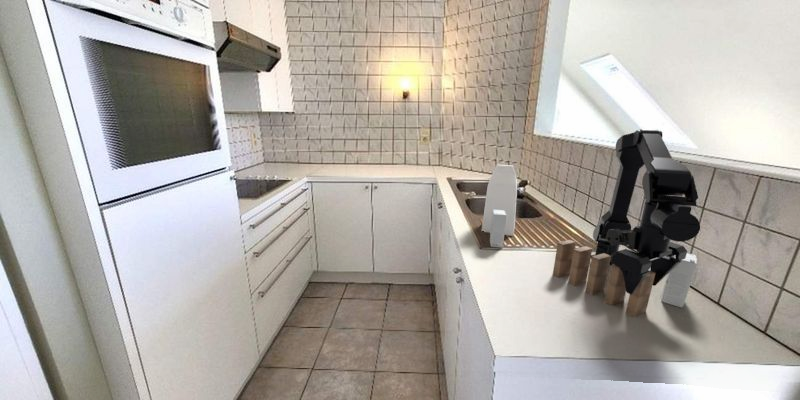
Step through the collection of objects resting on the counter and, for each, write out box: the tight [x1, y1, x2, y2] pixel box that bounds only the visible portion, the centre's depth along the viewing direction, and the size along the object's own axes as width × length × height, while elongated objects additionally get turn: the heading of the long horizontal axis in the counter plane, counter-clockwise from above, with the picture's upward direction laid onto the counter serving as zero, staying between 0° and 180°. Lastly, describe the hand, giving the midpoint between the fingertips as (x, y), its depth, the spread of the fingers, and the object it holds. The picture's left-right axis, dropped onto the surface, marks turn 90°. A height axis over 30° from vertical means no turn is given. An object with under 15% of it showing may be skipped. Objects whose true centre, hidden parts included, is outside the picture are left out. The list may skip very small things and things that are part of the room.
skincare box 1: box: [489, 210, 507, 248], centre depth 111 cm, size 6×4×12 cm
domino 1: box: [552, 239, 576, 278], centre depth 90 cm, size 5×2×10 cm, turn 116°
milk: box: [481, 164, 518, 237], centre depth 125 cm, size 12×12×26 cm
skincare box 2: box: [660, 252, 698, 308], centre depth 78 cm, size 6×4×12 cm
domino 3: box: [584, 253, 611, 296], centre depth 82 cm, size 5×2×10 cm, turn 116°
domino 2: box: [567, 245, 593, 286], centre depth 86 cm, size 5×2×10 cm, turn 116°
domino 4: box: [603, 264, 627, 306], centre depth 77 cm, size 5×2×10 cm, turn 116°
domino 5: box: [625, 269, 655, 318], centre depth 73 cm, size 5×2×10 cm, turn 117°
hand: (641, 289), depth 73 cm, fingers open, 9 cm apart
